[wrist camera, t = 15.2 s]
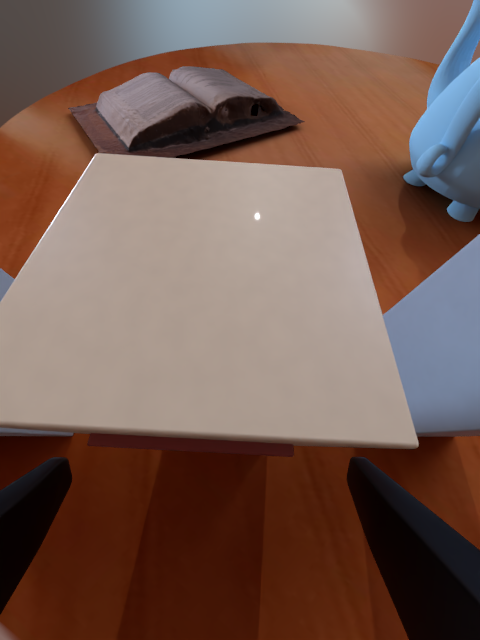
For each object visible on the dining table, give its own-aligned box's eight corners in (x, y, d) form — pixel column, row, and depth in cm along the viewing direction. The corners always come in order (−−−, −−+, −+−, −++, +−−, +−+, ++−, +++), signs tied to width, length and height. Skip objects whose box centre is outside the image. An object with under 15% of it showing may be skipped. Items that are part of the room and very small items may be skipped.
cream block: (268, 448, 14) (429, 469, 3) (170, 443, 14) (-93, 441, 3) (267, 352, 17) (341, 167, 6) (186, 348, 17) (95, 151, 6)
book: (305, 129, 34) (313, 87, 30) (116, 180, 25) (95, 130, 22) (232, 91, 43) (232, 55, 39) (73, 120, 34) (53, 77, 30)
